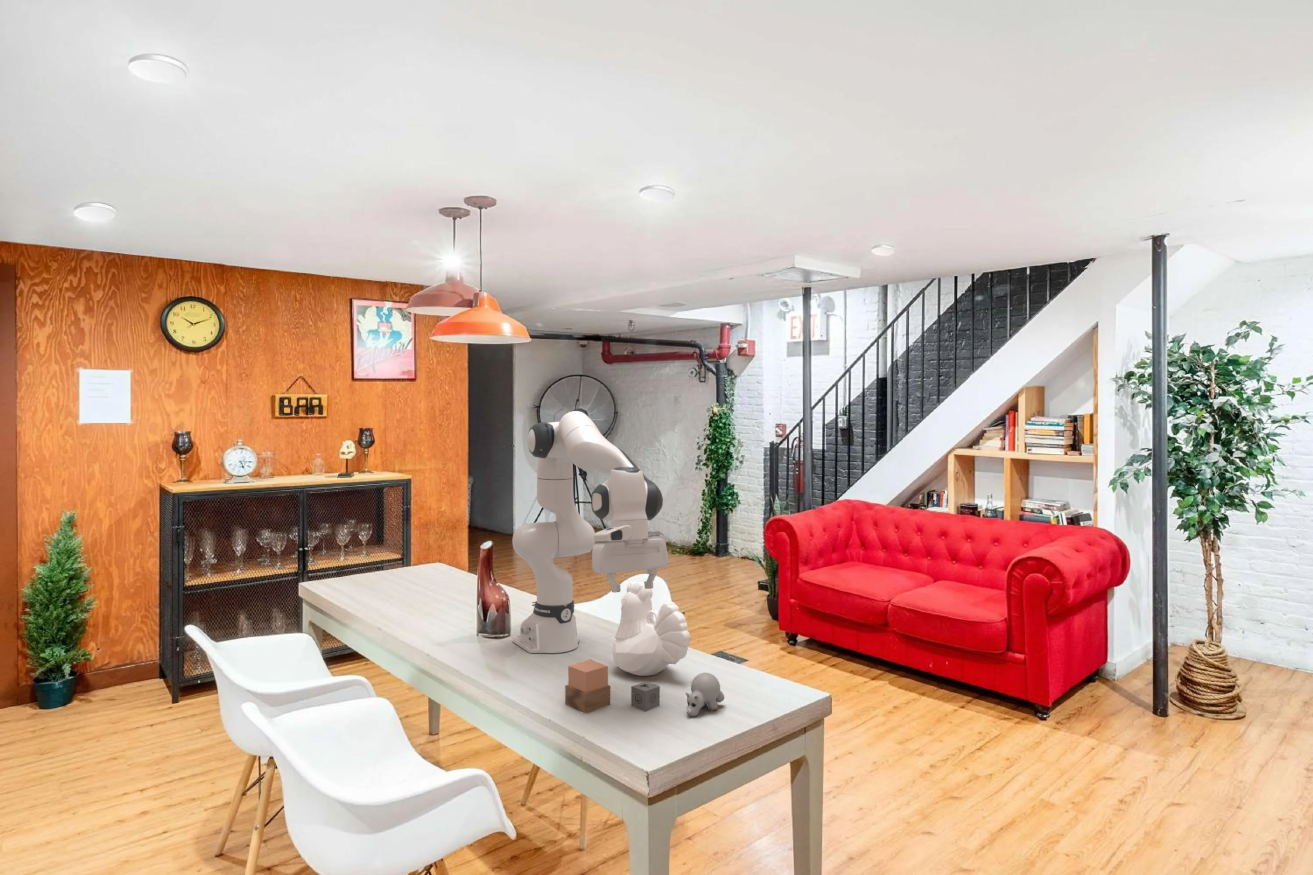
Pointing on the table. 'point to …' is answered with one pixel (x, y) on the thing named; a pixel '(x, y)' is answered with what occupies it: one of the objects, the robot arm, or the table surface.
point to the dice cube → (645, 696)
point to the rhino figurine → (704, 693)
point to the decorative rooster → (648, 633)
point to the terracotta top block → (588, 675)
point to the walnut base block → (587, 699)
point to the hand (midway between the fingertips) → (632, 590)
